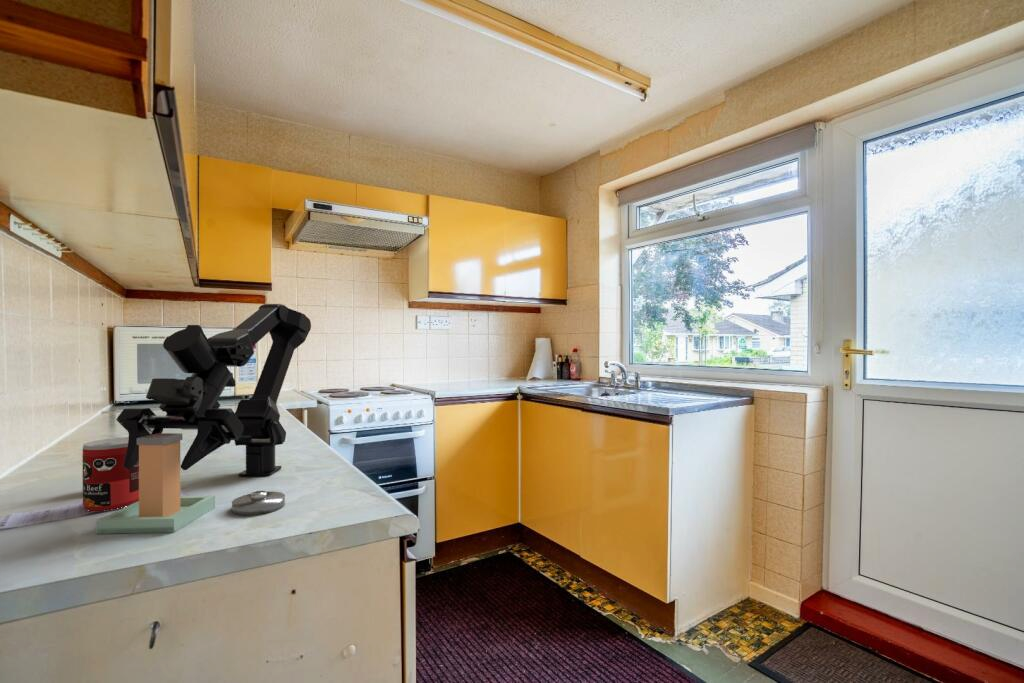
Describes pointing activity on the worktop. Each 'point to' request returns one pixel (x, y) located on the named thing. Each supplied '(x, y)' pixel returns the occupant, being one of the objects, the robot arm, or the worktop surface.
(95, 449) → the canned food
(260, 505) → the metal lid
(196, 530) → the worktop surface
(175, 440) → the grey-capped orange pillar
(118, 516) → the tray
